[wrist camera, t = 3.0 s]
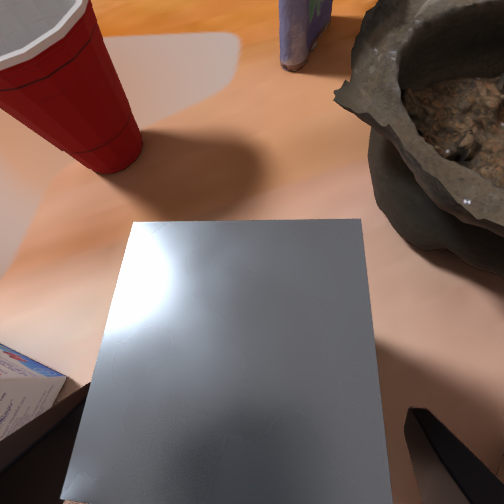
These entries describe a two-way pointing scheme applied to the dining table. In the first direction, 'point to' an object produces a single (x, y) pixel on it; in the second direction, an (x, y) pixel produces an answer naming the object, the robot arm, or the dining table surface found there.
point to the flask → (301, 29)
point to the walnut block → (501, 470)
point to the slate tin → (236, 371)
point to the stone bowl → (435, 121)
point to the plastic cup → (65, 82)
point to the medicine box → (24, 390)
